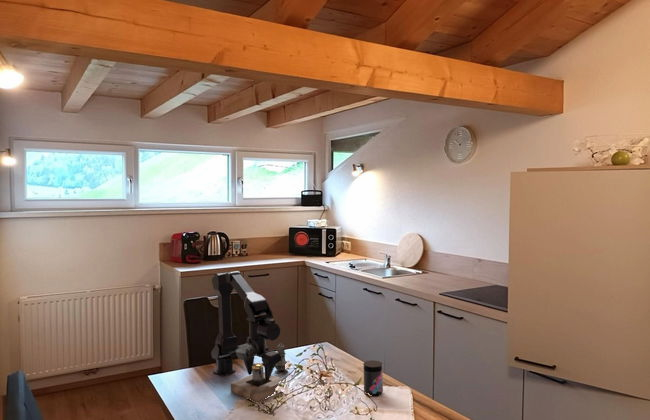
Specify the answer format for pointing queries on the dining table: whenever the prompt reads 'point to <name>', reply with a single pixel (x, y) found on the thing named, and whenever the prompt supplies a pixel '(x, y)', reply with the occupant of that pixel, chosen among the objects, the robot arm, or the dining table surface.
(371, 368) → the supplement container
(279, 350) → the weathered candle holder
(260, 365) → the battery cell
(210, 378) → the dining table surface
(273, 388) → the holder block
